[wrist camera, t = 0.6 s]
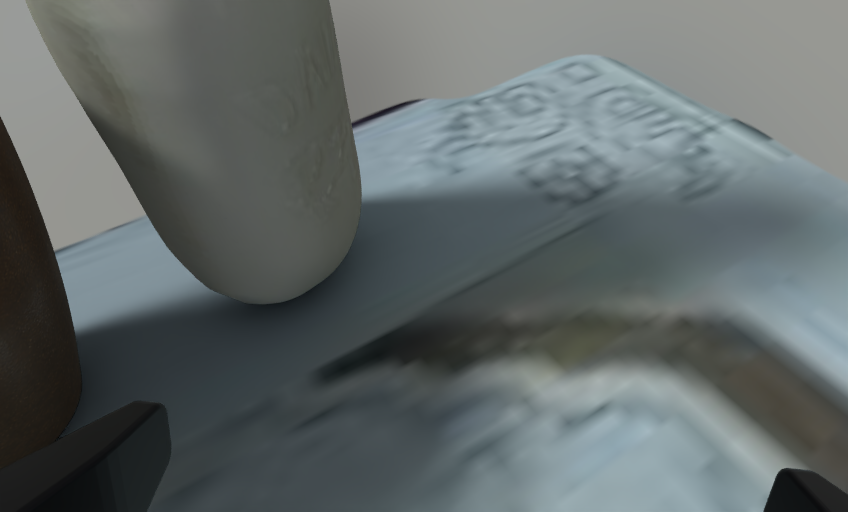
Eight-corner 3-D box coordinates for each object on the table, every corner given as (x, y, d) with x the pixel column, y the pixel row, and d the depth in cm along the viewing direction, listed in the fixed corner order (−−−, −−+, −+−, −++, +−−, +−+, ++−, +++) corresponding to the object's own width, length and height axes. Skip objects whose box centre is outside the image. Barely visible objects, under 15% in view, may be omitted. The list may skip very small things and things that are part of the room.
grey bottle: (237, 201, 38) (-50, -507, 18) (393, 213, 36) (270, -567, 16) (162, 327, 32) (-426, -567, 11) (348, 349, 30) (41, -680, 9)
